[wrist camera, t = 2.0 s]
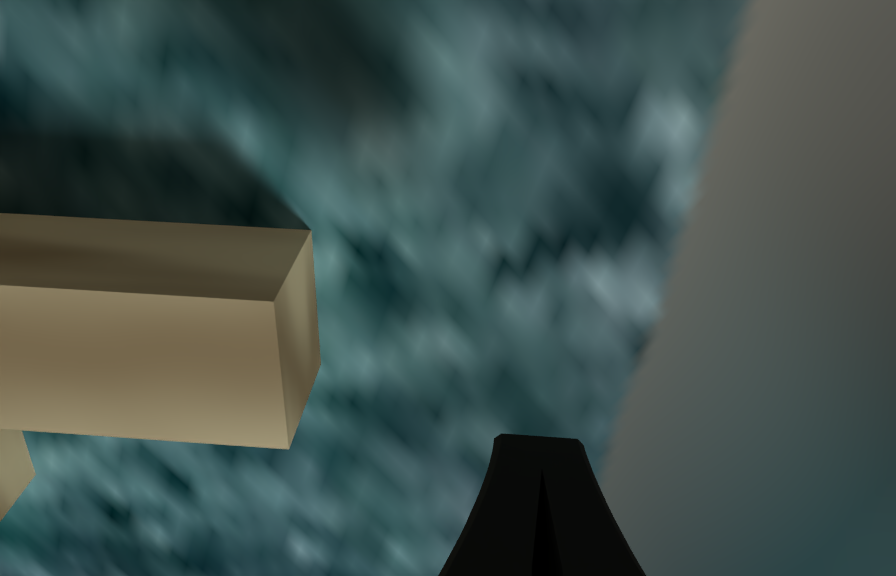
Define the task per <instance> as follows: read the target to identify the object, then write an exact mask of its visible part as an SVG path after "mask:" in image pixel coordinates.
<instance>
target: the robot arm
mask: <svg viewBox="0 0 896 576" xmlns="http://www.w3.org/2000/svg"><path fill="white" fill-rule="evenodd" d="M438 576H646V575H645V573H644V571H643V570H642V568H641V566H640V565H639V563H638V561H637V559H636V558H635V556H634V554H633V552H632V551H631V549H630V547H629V545H628V543H627V541H626V540H625V538H624V536H623V534H622V532H621V530H620V528H619V526H618V525H617V523H616V521H615V519H614V517H613V515H612V513H611V511H610V509H609V507H608V505H607V503H606V501H605V498H604V496H603V494H602V492H601V489H600V487H599V485H598V483H597V480H596V478H595V476H594V473H593V471H592V468H591V466H590V463H589V460H588V457H587V455H586V452H585V448H584V445H583V444H582V443H581V442H580V441H579V440H578V439H571V438H557V437H543V436H529V435H515V434H500V435H499V436H497V437H496V438H494V444H493V451H492V455H491V459H490V463H489V467H488V470H487V473H486V476H485V479H484V482H483V484H482V487H481V490H480V492H479V495H478V497H477V500H476V502H475V504H474V506H473V509H472V511H471V513H470V515H469V518H468V520H467V522H466V524H465V527H464V529H463V531H462V533H461V535H460V537H459V539H458V540H457V542H456V544H455V546H454V548H453V550H452V552H451V553H450V555H449V557H448V559H447V561H446V563H445V565H444V567H443V568H442V570H441V572H440V574H439V575H438Z"/></svg>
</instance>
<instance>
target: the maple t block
mask: <svg viewBox="0 0 896 576" xmlns="http://www.w3.org/2000/svg"><path fill="white" fill-rule="evenodd" d="M320 365H321V359H320V345H319V331H318V317H317V303H316V289H315V275H314V261H313V247H312V234H311V230H300V229H281V228H263V227H245V226H227V225H209V224H191V223H173V222H154V221H136V220H118V219H100V218H82V217H64V216H45V215H27V214H9V213H0V521H1V520H2V518H3V517H4V516H5V515H6V513H7V512H8V511H9V509H10V508H11V507H12V505H13V504H14V503H15V501H16V500H17V499H18V497H19V496H20V495H21V493H22V492H23V491H24V489H25V488H26V487H27V485H28V484H29V483H30V481H31V480H32V479H33V477H34V476H35V475H36V474H35V471H34V468H33V465H32V461H31V458H30V455H29V452H28V449H27V446H26V443H25V439H24V436H23V433H22V430H26V431H40V432H54V433H68V434H82V435H96V436H110V437H124V438H138V439H152V440H166V441H180V442H194V443H208V444H222V445H235V446H249V447H263V448H277V449H289V448H290V445H291V442H292V440H293V437H294V434H295V432H296V429H297V426H298V424H299V421H300V418H301V416H302V413H303V410H304V408H305V405H306V402H307V400H308V397H309V394H310V392H311V389H312V386H313V384H314V381H315V378H316V376H317V373H318V370H319V368H320Z"/></svg>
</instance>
